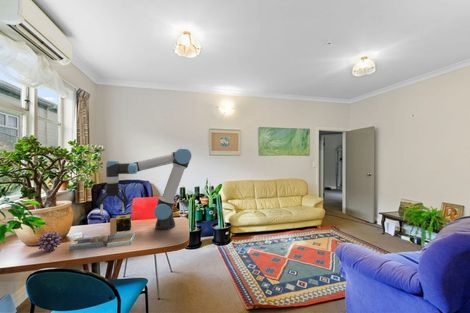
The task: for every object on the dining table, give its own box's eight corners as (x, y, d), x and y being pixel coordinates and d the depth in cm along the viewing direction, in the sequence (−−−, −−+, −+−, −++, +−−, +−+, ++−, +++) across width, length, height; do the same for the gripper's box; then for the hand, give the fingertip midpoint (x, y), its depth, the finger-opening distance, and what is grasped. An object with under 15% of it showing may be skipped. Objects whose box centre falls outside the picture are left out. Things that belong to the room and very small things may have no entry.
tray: (135, 236, 146) (135, 232, 146) (130, 245, 131) (130, 240, 131) (114, 239, 143) (114, 234, 143) (107, 248, 127) (107, 243, 127)
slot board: (114, 239, 142) (114, 234, 142) (108, 248, 128) (107, 242, 128) (80, 243, 136) (80, 237, 136) (69, 252, 123) (69, 246, 123)
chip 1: (100, 242, 135) (100, 236, 135) (97, 244, 131) (97, 238, 131) (93, 243, 134) (93, 236, 134) (90, 245, 130) (90, 239, 130)
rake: (116, 235, 149) (116, 217, 149) (114, 238, 144) (114, 219, 144) (112, 236, 148) (111, 217, 148) (109, 239, 143) (109, 220, 143)
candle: (131, 226, 169) (131, 214, 169) (130, 230, 160) (130, 217, 160) (116, 228, 165) (116, 215, 165) (115, 232, 156) (115, 219, 156)
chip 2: (108, 241, 136) (107, 235, 136) (106, 243, 132) (105, 237, 132) (101, 242, 135) (101, 235, 135) (98, 244, 131) (98, 238, 131)
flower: (39, 257, 118) (39, 235, 118) (34, 251, 125) (34, 231, 125) (65, 249, 127) (64, 230, 127) (59, 245, 134) (59, 226, 134)
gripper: (133, 181, 153) (133, 210, 153) (94, 182, 147) (94, 213, 146) (130, 182, 146) (131, 213, 146) (89, 184, 139) (89, 215, 139)
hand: (112, 213), depth 146 cm, fingers open, 13 cm apart
